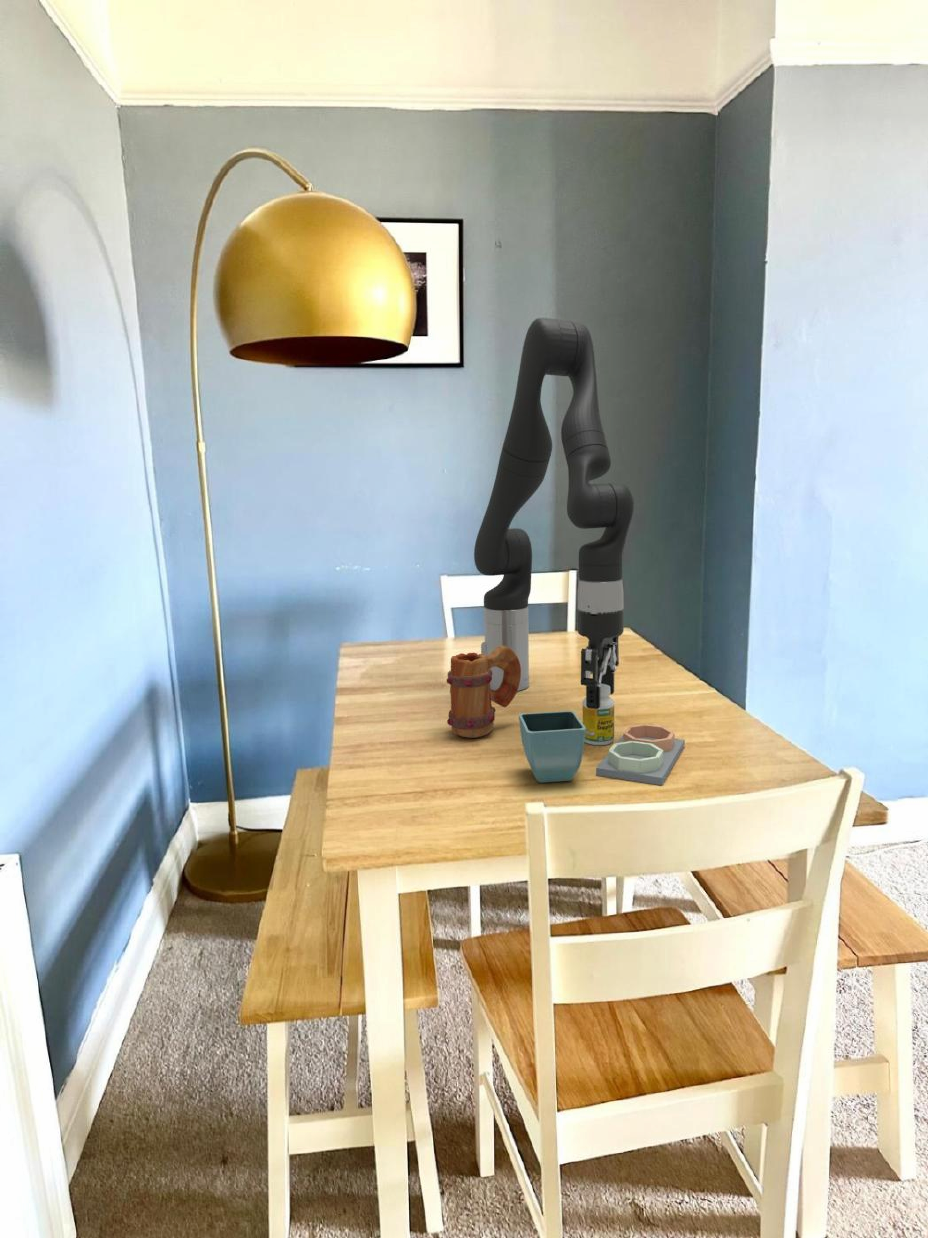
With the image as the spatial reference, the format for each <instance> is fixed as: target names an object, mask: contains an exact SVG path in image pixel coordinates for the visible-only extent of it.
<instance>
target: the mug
mask: <svg viewBox="0 0 928 1238" xmlns="http://www.w3.org/2000/svg"><path fill="white" fill-rule="evenodd" d="M495 666H496V667H498V668H500V669H502V670H503V671H504V674H503V681H502V683H501V685H500V687H499V688H498V689H497V690H495V691H494V690H491V689H490V682H491V681H492V671H491V667H495ZM520 678H521V666H520V662H519V660H518V657H517V656H516V654H515V653H514V652H513V650H512V649H510V648H508V647H506V646H503V645H501V646H498V647H496V648H495V650H494V651H493V652H492V653H491V654H489V655H484V654H481V653H479V654H478V652H467V653H459V654H455V655H452V656H451V658H450V670H449V671H448V672H447V678H446V684H448V685H450V687H449V693H450V710H449V711H448V719H447V721H446V723H447V725H448V726H451V732H452V733H453V734H455V735H457V736H460V737H462V738H467V739H470V738H471V739H473V738H474V739H477V738H481V737H484V736H486V735H488V734H489V733H490V732H491V731H492V730H493V728H494V725H495V723H494V721H495V718H496V707H494V706H493V705H492V702H493V703H496V704H497V705H499V706H501V707H502V708H507V707H508V706H509V705H510V704H511V703H512V701H513V700H514V698H515V696H516V694H517V693H518V691H517V690H518V687H519V683H520Z"/></svg>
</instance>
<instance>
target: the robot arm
mask: <svg viewBox="0 0 928 1238" xmlns="http://www.w3.org/2000/svg"><path fill="white" fill-rule="evenodd" d="M526 331H527V332H526V334H525V336H524V337H525V338H524V341H523V346H522V352H521V356H520V357H521V358H520V363H519V371H518V376H517V381H516V382H517V383H516V387H515V388H516V389H515V395H514V398H513V399H514V400H513V405H512V409H511V413H510V417H509V422H508V426H507V428H506V429H507V430H506V433H505V437H504V441H503V444H502V448H501V451H500V456H499V460H498V465H497V469H496V473H495V474H496V475H495V480H494V484H493V487H492V490H491V495H490V498H489V500H488V501H489V502H488V504H487V506H486V510H485V513H484V516H483V519H482V522H481V525H480V527H479V530H478V532H477V535H476V540H475V545H474V550H473V551H474V552H473V559H474V561H473V562H474V565H475V568H476V570H477V571H478V572H479V573H480V574H482V575H483V576H490V577H491V576H492V577H493V576H494V577H495V576H502V577H503V578H502V579H501V580H500V582H499V583H498V584H497V585H496V586H494V587H493V588H491V589H489V590H488V591H486V592H485V593H484V595H483V614H484V615H483V621H484V626H483V627H484V641H483V642H481V645H480V654H484V655H489V654H491V653H492V652H493V651H494V650H495V648H496V647H498V646H501V645H503V646H506V647H508V648H510V649H512V650H513V652H514V653H515V654H516V656H517V657H518V660H519V662H520V666H521V678H520V683H519V687H518V690H517V692H519V691H522V690H525V689H528V687H529V686H530V663H529V662H530V659H529V658H530V655H529V654H530V653H529V649H530V648H529V647H530V646H529V645H530V644H529V639H530V638H529V598H530V595H531V592H532V591H531V590H532V570H533V569H532V568H533V549H532V541H531V539H530V536H529V535H528V533H527V532H526V531H525V530H524V529H522V528H518V527H517V528H513V527H512V528H510V525H511V523H512V522H513V520H514V518H515V516H516V515H517V513H518V512H519V511H520V509H522V507H524V505H525V504H526V503H527V502H528V501H529V500H530V499H531V497H533V496H534V494H535V493H536V492H537V490H538V489H539V488H540V486H541V485H542V483H543V481H544V480H545V476H546V473H547V470H548V467H549V463H550V459H551V456H552V452H553V440H552V436H551V433H550V430H549V427H548V424H547V421H546V418H545V415H544V411H543V408H542V407H543V406H542V401H541V398H542V397H541V396H542V389H543V388H542V387H543V382H544V380H545V379H544V378H545V376H546V375H548V376H557V377H568V378H569V380H570V383H571V387H572V390H573V391H572V397H571V401H570V402H569V406H568V407H567V410H566V412H565V414H564V417H563V420H562V423H561V430H560V431H561V432H560V436H561V437H560V438H561V443H562V448H563V453H564V456H565V460H566V465H567V471H568V472H567V474H568V491H567V499H566V501H567V502H566V512H567V517H568V519H569V520H570V523H572V524H573V526H575V527H576V528H579V529H582V530H583V529H585V530H586V529H587V530H588V529H601V528H602V529H603V528H604V531H603V534H602V535H601V536H600V538H599V539H597V540H595V541H591V542H587V543H585V544H583V545H581V546H580V547H579V550H578V587H577V596H576V597H577V600H576V601H577V603H576V604H577V605H576V606H577V633H578V635H579V636H582V637H585V638H587V640H588V642H587V643H588V644H587V646H586V647H585V648H581V651H580V685H581V686H585V691H586V692H585V696H586V697H585V698H586V706H587V708H591V709H598V708H599V707H600V685H601V684H606V685H609V686H610V695H613V694H614V693H615V673H616V672H617V667H619V664H620V662H619V661H620V657H619V654H620V653H619V637H620V636H622V635H623V634H624V618H625V617H624V612H625V610H624V598H625V597H624V595H625V594H624V593H625V592H624V586H623V553H624V552H623V551H624V548H625V546H626V545H625V544H626V540H627V536H628V532H629V528H630V526H631V521H632V519H633V514H634V508H635V507H634V505H635V503H634V501H635V500H634V497H633V494H632V492H631V489H629V487H628V486H627V485H626V484H623V483H619V482H618V483H617V482H611V483H593V484H592V483H590V481H594V480H596V479H597V480H598V479H599V478H601V477H603V476H604V475H607V473H608V472H609V470H610V469H611V466H612V465H611V464H612V461H611V455H610V452H609V448H608V447H609V446H608V444H607V440H606V436H605V434H604V430H603V429H604V428H603V425H602V419H601V414H600V409H599V397H598V396H599V394H598V382H597V372H596V370H597V369H596V359H595V351H594V350H595V349H594V344H593V339H592V335H591V332H590V330H589V328H588V327H587V326H586V325H585V324H584V323H581V322H578V321H572V320H566V319H565V320H564V319H558V318H548V317H538V318H535V319H534V320H533V321H532V322H531V324H530V325H529V327H528V328H527V330H526ZM491 671H492V681H491V682H490V690H491V691H495V690H497V689H498V688H499V687H500V685H501V683H502V681H503V674H504V671H503V670H502V669H500V668H498V667H496V666H495V667H491ZM591 675H592V677H591Z"/></svg>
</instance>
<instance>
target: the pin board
mask: <svg viewBox="0 0 928 1238" xmlns="http://www.w3.org/2000/svg"><path fill="white" fill-rule="evenodd" d="M675 735H676V734H675V732H674V731H673V730H671V729H669V728H668V727H665V726H663V725H654V724H646V723H643V724H635V725H631V726H627V727H626V729H625V730H624V731H623V733H622V736H620V738H619V739H618V740H617V742H615V743H613V744H612V746H611V747H610V748H609V749H608V752H607V754H606V755H605V757H604V758H603V759H602V760H601V761H600V763H599V764H598V765H597V767H596V768H595V770H596V771H595V772H596V773H595V775H596V776H600V777H604V778H611V779H618V780H623V781H624V780H626V781H630V782H637V783H644V784H651V785H657V786H663V785H664V783H665V781H666V780H667V778H668V776H669V774H670V773H671V770H672V769H673V768H674V766H675V764H676V762H677V760H678V759H679V757H680V755H681V753H682V751H683V750H684V748H685V744H686V743H685V742H686V741H685V739H683V738H682V739H680V738H675V737H676V736H675Z"/></svg>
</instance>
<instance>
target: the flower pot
mask: <svg viewBox="0 0 928 1238" xmlns="http://www.w3.org/2000/svg"><path fill="white" fill-rule="evenodd" d="M518 720H519V729H520V736H521V737H520V738H521V742H522V748H523V752H524V754H525V758H526V759H527V762H528V765H529V766H530V769H531V771H532V774H533V776H534V777H535V779H536V781H537V782H538V783H540V784H541V783H542V784H543V783H554V782H569V781H572V780H573V778H574V777H575V776H576V774H577V773H578V771H579V769H580V766H581V763H582V761H583V756H584V755H583V754H584V749H585V732H586V727H585V726H584V725H583V721H581V719H580V718H579V717H578V715H577V714H576V712H575V711H573V710H562V711H560V710H559V711H543V712H530V713H529V712H526V713H519V714H518Z"/></svg>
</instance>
